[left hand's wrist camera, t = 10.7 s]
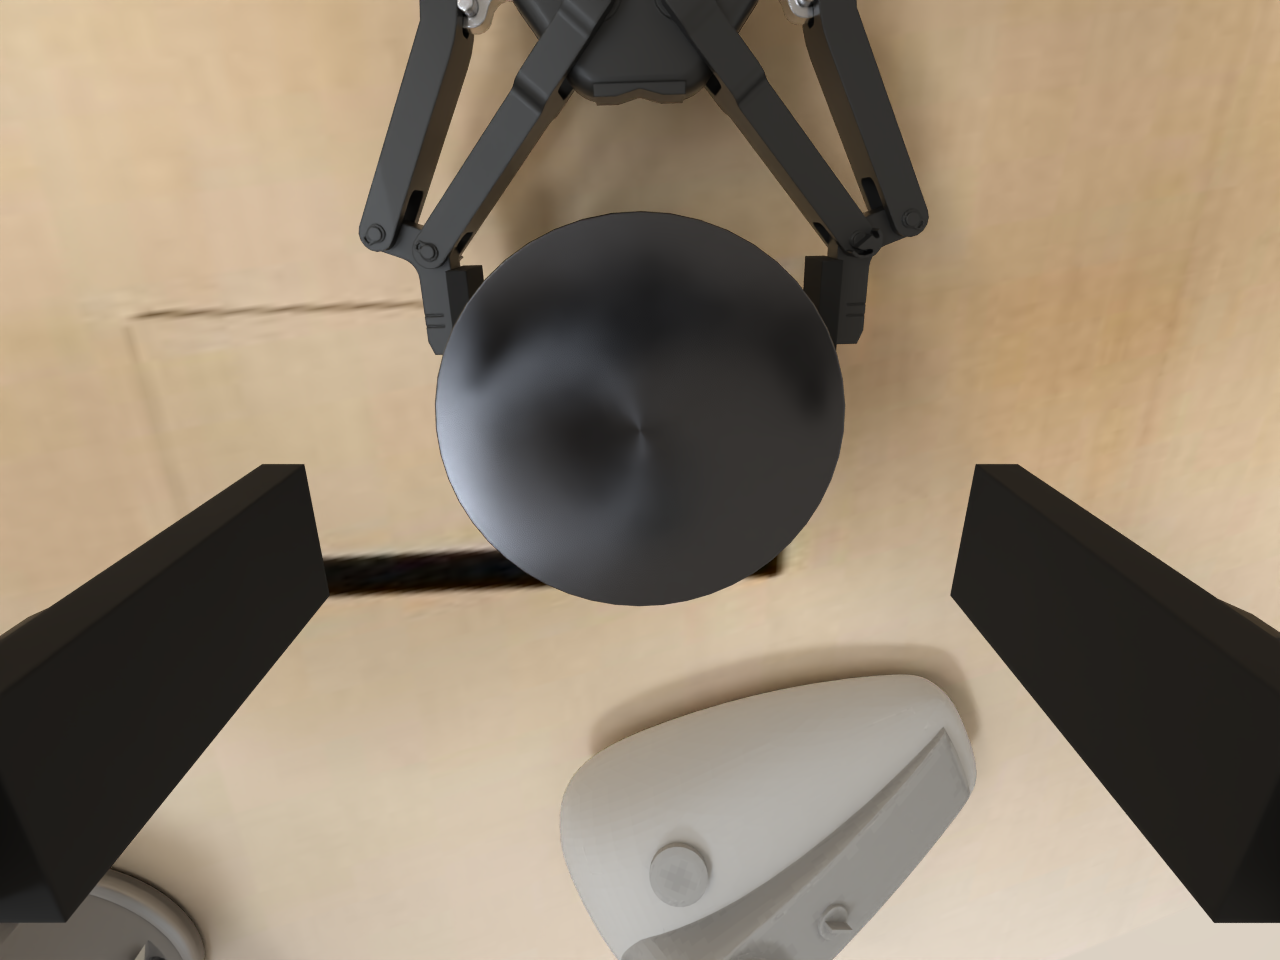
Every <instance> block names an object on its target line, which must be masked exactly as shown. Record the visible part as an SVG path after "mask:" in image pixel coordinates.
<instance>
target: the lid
mask: <svg viewBox="0 0 1280 960" xmlns="http://www.w3.org/2000/svg"><path fill="white" fill-rule="evenodd" d="M435 415H436V432H437V437H438V443H439V448H440V454H441V457H442V460H443V464H444V467H445V470H446V473H447V476H448V479H449V481H450V483H451V485H452V488H453V490H454V492H455V494H456V496H457V498H458V500H459V502H460V504H461V505H462V507H463V508H464V510H465V512H466V513H467V515H468V516H469V518H470V519H471V521H472V522H473V524H474V525H475V526H476V527H477V528H478V530H479V531H480V532H481V533H482V535H483V536H484V537H485V538H486V539H487V541H488V542H489V543H491V544H492V545H493V546H494V547H495V548H496V549H497V550H498V551H499V552H500V553H501V554H502V555H503V556H504V557H505V558H507V559H508V560H509V561H511V562H512V563H513V564H515V565H516V566H517V567H519V568H520V569H522V570H523V571H524V572H526V573H527V574H529V575H531V576H533V577H534V578H536V579H538V580H540V581H541V582H543V583H545V584H547V585H549V586H552V587H554V588H556V589H559V590H561V591H563V592H566V593H568V594H571V595H575V596H578V597H581V598H585V599H588V600H592V601H597V602H603V603H609V604H614V605H629V606H650V605H665V604H671V603H677V602H683V601H688V600H692V599H695V598H699V597H702V596H706V595H709V594H712V593H714V592H717V591H719V590H721V589H724V588H726V587H729V586H731V585H733V584H735V583H737V582H738V581H740V580H742V579H744V578H746V577H747V576H749V575H751V574H753V573H754V572H756V571H757V570H758V569H760V568H761V567H763V566H764V565H765V564H767V563H768V562H769V561H771V560H772V559H773V558H775V557H776V556H777V555H778V554H779V553H780V552H781V551H782V550H783V549H784V548H785V547H786V546H787V545H789V544H790V543H791V542H792V540H793V539H794V538H795V537H796V536H797V534H798V533H799V532H800V531H801V530H802V529H803V527H804V526H805V525H806V524H807V522H808V521H809V519H810V518H811V516H812V515H813V513H814V512H815V510H816V509H817V507H818V505H819V504H820V502H821V500H822V498H823V496H824V494H825V492H826V490H827V488H828V486H829V483H830V481H831V479H832V476H833V473H834V470H835V467H836V464H837V461H838V458H839V454H840V448H841V443H842V438H843V432H844V416H845V399H844V387H843V378H842V374H841V369H840V365H839V360H838V356H837V352H836V350H835V347H834V345H833V342H832V339H831V337H830V334H829V331H828V329H827V327H826V325H825V323H824V321H823V320H822V318H821V316H820V314H819V312H818V310H817V309H816V307H815V305H814V303H813V302H812V301H811V299H810V298H809V297H808V296H807V294H806V293H805V292H804V290H803V289H802V288H801V286H800V285H799V284H798V282H797V281H796V280H795V279H794V278H793V277H792V276H791V275H790V274H789V273H788V272H787V271H786V270H785V269H784V268H783V267H782V266H781V265H780V264H779V263H778V262H777V261H775V260H774V259H773V258H771V257H770V256H769V255H767V254H766V253H765V252H763V251H762V250H761V249H759V248H758V247H757V246H755V245H754V244H752V243H750V242H748V241H747V240H745V239H743V238H741V237H739V236H737V235H736V234H734V233H732V232H730V231H728V230H726V229H723V228H720V227H718V226H715V225H712V224H710V223H707V222H704V221H702V220H698V219H694V218H689V217H685V216H680V215H676V214H671V213H659V212H646V211H635V212H620V213H610V214H605V215H600V216H595V217H591V218H586V219H581V220H579V221H576V222H573V223H570V224H568V225H565V226H562V227H559V228H557V229H554V230H552V231H550V232H548V233H546V234H545V235H543V236H541V237H539V238H537V239H535V240H533V241H531V242H529V243H528V244H526V245H525V246H524V247H522V248H521V249H520V250H518V251H517V252H515V253H514V254H513V255H511V256H510V257H509V258H507V259H506V260H505V261H503V262H502V263H501V264H500V265H499V266H498V267H497V268H496V269H495V270H494V271H493V272H492V273H491V274H490V275H489V276H488V277H487V278H486V279H485V280H484V281H483V283H482V284H481V285H480V286H479V288H478V289H477V290H476V292H475V293H474V294H473V295H472V297H471V298H470V299H469V301H468V302H467V304H466V305H465V307H464V309H463V311H462V312H461V314H460V316H459V318H458V319H457V321H456V323H455V325H454V327H453V329H452V332H451V334H450V337H449V339H448V342H447V344H446V347H445V350H444V352H443V357H442V361H441V365H440V369H439V373H438V378H437V388H436V399H435Z"/></svg>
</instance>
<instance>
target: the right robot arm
mask: <svg viewBox="0 0 1280 960" xmlns="http://www.w3.org/2000/svg"><path fill="white" fill-rule="evenodd" d="M508 1H513V2H514V4H515V6H516V7H517V9H518V11H519V12H520V14H521V15H522V17H523V18H524V19H525V21H526V22H527V24H528V25H529V27H530V28H531V29H532V31H533V32H534V34H535V35H536V37H537V38H538V39H539V40H538V42H537V44H536V45H535V47H534V48H533V50H532V51H531V53H530V54H529V56H528V58H527V59H526V61H525V62H524V64H523V65H522V67H521V69H520V70H519V72H518V74H517V76H516V78H515V80H514V84H513V87H512V89H511V91H510V92H509V94H508V96H507V97H506V99H505V100H504V102H503V103H502V105H501V106H500V108H499V110H498V111H497V113H496V114H495V116H494V117H493V119H492V120H491V122H490V124H489V125H488V127H487V128H486V130H485V131H484V133H483V134H482V136H481V138H480V139H479V141H478V142H477V144H476V145H475V147H474V148H473V150H472V152H471V153H470V155H469V156H468V158H467V159H466V161H465V162H464V164H463V166H462V167H461V169H460V170H459V172H458V173H457V175H456V176H455V178H454V180H453V181H452V183H451V184H450V186H449V187H448V189H447V190H446V192H445V194H444V195H443V197H442V198H441V200H440V201H439V203H438V204H437V206H436V208H435V209H434V211H433V212H432V214H431V215H430V217H429V218H428V220H427V222H426V223H425V225H424V226H423V225H420V224H418V221H419V218H420V215H421V212H422V209H423V206H424V203H425V199H426V196H427V193H428V190H429V187H430V184H431V181H432V178H433V175H434V172H435V169H436V166H437V162H438V159H439V156H440V153H441V150H442V147H443V144H444V141H445V138H446V135H447V132H448V128H449V125H450V122H451V119H452V116H453V113H454V110H455V107H456V104H457V101H458V98H459V95H460V91H461V88H462V85H463V82H464V79H465V76H466V73H467V70H468V66H469V62H470V59H471V55H472V48H473V42H474V34H475V35H476V34H482V33H484V32H486V31H487V30H488V29H489V27H490V26H491V24H492V20H493V16H494V12H495V11H496V9H497V7H498V6H499V5H501V4H502V3H504V2H508ZM779 1H780V3H781V5H782V8H783V12H784V15H785V17H786V18H787V20H788V21H790V22H791V23H793V24H795V25H803V33H804V37H805V42H806V47H807V50H808V53H809V56H810V59H811V62H812V64H813V67H814V70H815V72H816V75H817V77H818V80H819V83H820V85H821V88H822V91H823V93H824V96H825V99H826V101H827V104H828V106H829V109H830V112H831V114H832V117H833V120H834V122H835V125H836V128H837V130H838V133H839V135H840V138H841V141H842V143H843V146H844V149H845V151H846V154H847V156H848V159H849V162H850V164H851V167H852V170H853V172H854V175H855V178H856V180H857V183H858V185H859V188H860V191H861V193H862V196H863V199H864V201H865V204H866V207H867V209H868V211H867V212H865V213H862V212H861V210H860V209H859V208H858V206H857V205H856V203H855V202H854V201H853V199H852V198H851V196H850V195H849V194H848V192H847V191H846V190H845V188H844V187H843V185H842V184H841V183H840V181H839V180H838V178H837V177H836V176H835V174H834V173H833V171H832V170H831V169H830V167H829V166H828V164H827V163H826V162H825V160H824V159H823V158H822V156H821V155H820V153H819V152H818V151H817V149H816V148H815V146H814V145H813V144H812V142H811V141H810V139H809V138H808V137H807V135H806V134H805V133H804V131H803V130H802V128H801V127H800V126H799V124H798V123H797V121H796V120H795V119H794V117H793V116H792V114H791V113H790V112H789V110H788V109H787V107H786V106H785V105H784V103H783V102H782V101H781V99H780V98H779V96H778V95H777V94H776V92H775V91H774V89H773V88H772V87H771V85H770V84H769V82H768V81H767V79H766V76H765V72H764V70H763V68H762V67H761V65H760V64H759V62H758V61H757V59H756V58H755V56H754V55H753V54H752V52H751V51H750V49H749V48H748V47H747V45H746V44H745V43H744V41H743V40H742V38H741V37H740V36H739V34H738V33H739V31H740V30H741V28H742V27H743V25H744V23H745V22H746V20H747V19H748V17H749V15H750V14H751V12H752V11H753V9H754V7H755V6H756V4H757V2H758V0H420V22H419V26H418V29H417V33H416V36H415V39H414V43H413V46H412V49H411V53H410V56H409V60H408V63H407V66H406V70H405V73H404V77H403V80H402V83H401V87H400V90H399V94H398V97H397V100H396V104H395V107H394V111H393V114H392V117H391V121H390V124H389V127H388V131H387V134H386V138H385V141H384V144H383V148H382V151H381V155H380V158H379V161H378V165H377V168H376V172H375V175H374V178H373V182H372V185H371V189H370V192H369V195H368V199H367V202H366V205H365V209H364V212H363V216H362V219H361V222H360V226H359V236H360V239H361V241H362V243H363V244H364V245H365V246H366V247H367V248H368V249H370V250H372V251H376V252H379V251H382V252H385V253H388V254H391V255H394V256H397V257H400V258H403V259H405V260H407V261H408V262H410V263H411V264H412V265H413V266H414V267H415V268H416V270H417V272H418V274H419V278H420V284H421V291H422V299H423V306H424V313H425V320H426V325H427V334H428V341H429V344H430V345H431V347H432V349H433V351H434V353H435V355H443V352H444V350H445V347H446V344H447V342H448V339H449V337H450V334H451V332H452V329H453V327H454V325H455V323H456V321H457V319H458V318H459V316H460V314H461V312H462V311H463V309H464V307H465V305H466V304H467V302H468V301H469V299H470V298H471V297H472V295H473V294H474V293H475V292H476V290H477V289H478V288H479V286H480V285H481V284H482V283H483V281H484V279H483V269H482V265H469V266H461V267H460V260H461V259H462V258H463V256H461V255H462V253H463V252H464V250H465V249H466V247H467V246H468V244H469V243H470V241H471V240H472V238H473V237H474V235H475V234H476V232H477V231H478V229H479V228H480V226H481V225H482V223H483V222H484V220H485V219H486V217H487V216H488V214H489V213H490V211H491V210H492V208H493V207H494V205H495V204H496V203H497V201H498V200H499V198H500V197H501V195H502V194H503V192H504V191H505V189H506V188H507V186H508V185H509V183H510V182H511V180H512V179H513V177H514V176H515V174H516V173H517V171H518V170H519V168H520V167H521V165H522V164H523V162H524V161H525V159H526V158H527V156H528V155H529V153H530V152H531V150H532V149H533V147H534V146H535V144H536V143H537V141H538V140H539V138H540V137H541V136H542V134H543V133H544V131H545V130H546V128H547V127H548V125H549V124H550V122H551V121H552V120H553V119H554V118H556V116H557V115H558V114H559V113H560V111H561V110H562V108H563V107H564V105H565V104H566V102H567V101H568V99H569V98H570V96H571V95H572V93H573V92H574V90H575V91H576V92H577V93H579V94H580V95H581V96H583V97H584V98H586V99H588V100H590V101H593V102H596V104H597V105H619V104H622V103H625V102H628V101H631V100H634V99H637V98H643V99H647V100H650V101H654V102H658V103H661V104H662V103H682V102H683V100H684V99H687V98H689V97H691V96H693V95H695V94H696V93H697V92H699V91H700V90H701V89H702V88H703V87H705V88H706V90H707V91H708V92H709V94H710V95H711V96H712V98H713V99H714V100H715V102H716V103H717V104H718V106H719V107H720V108H721V109H722V110H723V111H724V112H725V113H726V114H727V115H728V116H729V117H730V118H731V119H732V120H733V122H734V123H735V124H736V126H737V127H738V128H739V130H740V131H741V132H742V134H743V135H744V136H745V138H746V139H747V140H748V142H749V143H750V144H751V146H752V147H753V148H754V150H755V151H756V152H757V154H758V155H759V156H760V158H761V159H762V160H763V162H764V163H765V164H766V166H767V167H768V168H769V170H770V171H771V172H772V174H773V175H774V176H775V178H776V179H777V180H778V182H779V183H780V184H781V186H782V187H783V188H784V190H785V191H786V192H787V194H788V195H789V196H790V198H791V199H792V200H793V202H794V203H795V204H796V206H797V207H798V208H799V210H800V211H801V212H802V214H803V215H804V216H805V218H806V219H807V220H808V222H809V223H810V224H811V226H812V227H813V228H814V230H815V231H816V232H817V234H818V235H819V236H820V238H821V239H822V240H823V242H824V243H825V244H826V246H827V247H828V255H827V256H805V272H804V288H803V290H804V292H805V293H806V294H807V296H808V297H809V298H810V299H811V301H812V302H813V303H814V305H815V307H816V309H817V310H818V312H819V314H820V316H821V318H822V320H823V321H824V323H825V325H826V327H827V329H828V331H829V334H830V337H831V339H832V342H833V345H834V347H835V350H836V346H837V344H857V342H858V340H859V338H860V335H861V333H862V331H863V325H864V314H865V303H866V293H867V282H868V272H869V264H870V261H871V258H872V256H874V255H875V254H876V253H877V252H878V251H879V250H880V248H881V247H883V246H885V245H887V244H890V243H892V242H895V241H897V240H900V239H902V238H905V237H912V236H915V235H918V234H919V233H920V232H922V231H923V230H924V228H925V227H926V225H927V222H928V218H929V216H928V210H927V207H926V204H925V201H924V198H923V196H922V193H921V190H920V187H919V184H918V181H917V178H916V175H915V173H914V170H913V167H912V164H911V161H910V158H909V155H908V153H907V150H906V147H905V144H904V141H903V138H902V135H901V133H900V130H899V127H898V124H897V121H896V118H895V115H894V113H893V110H892V107H891V104H890V101H889V98H888V95H887V93H886V90H885V87H884V84H883V81H882V78H881V75H880V73H879V70H878V67H877V64H876V61H875V58H874V55H873V53H872V50H871V47H870V44H869V41H868V38H867V35H866V33H865V30H864V27H863V24H862V21H861V18H860V15H859V13H858V10H857V2H856V0H779Z"/></svg>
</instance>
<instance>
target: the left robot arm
mask: <svg viewBox="0 0 1280 960" xmlns="http://www.w3.org/2000/svg"><path fill="white" fill-rule="evenodd" d="M329 596H330V594H329V589H328V584H327V579H326V574H325V569H324V563H323V558H322V553H321V548H320V543H319V538H318V533H317V527H316V522H315V517H314V512H313V507H312V502H311V496H310V491H309V486H308V481H307V476H306V471H305V466H304V464H262V465H260V466H259V467H257V468H256V469H254V470H253V471H251V472H250V473H249V474H247V475H246V476H244V477H243V478H241V479H240V480H238V481H237V482H235V483H234V484H232V485H231V486H229V487H228V488H226V489H225V490H223V491H222V492H220V493H219V494H217V495H216V496H214V497H213V498H211V499H210V500H208V501H207V502H205V503H204V504H202V505H201V506H199V507H198V508H196V509H195V510H194V511H192V512H191V513H189V514H188V515H186V516H185V517H183V518H182V519H180V520H179V521H177V522H176V523H174V524H173V525H171V526H170V527H168V528H167V529H165V530H164V531H162V532H161V533H159V534H158V535H156V536H155V537H153V538H152V539H150V540H149V541H147V542H146V543H144V544H143V545H142V546H140V547H139V548H137V549H136V550H134V551H133V552H131V553H130V554H128V555H127V556H125V557H124V558H122V559H121V560H119V561H118V562H116V563H115V564H113V565H112V566H110V567H109V568H107V569H106V570H104V571H103V572H101V573H100V574H98V575H97V576H95V577H94V578H92V579H91V580H89V581H88V582H87V583H85V584H84V585H82V586H81V587H79V588H78V589H76V590H75V591H73V592H72V593H70V594H69V595H67V596H66V597H64V598H63V599H61V600H60V601H58V602H57V603H55V604H54V605H52V606H51V607H49V608H47V609H45V610H43V611H41V612H39V613H36V614H34V615H32V616H30V617H28V618H26V619H25V620H23V621H22V622H20V623H19V624H17V625H16V626H14V627H13V628H11V629H10V630H8V631H7V632H5V633H4V634H2V635H1V636H0V960H205V952H204V946H203V942H202V939H201V936H200V934H199V932H198V930H197V928H196V927H195V925H194V924H193V922H192V921H191V919H190V918H189V917H188V916H187V914H186V913H185V912H184V911H183V910H182V909H181V908H180V907H179V906H178V905H177V904H176V903H174V902H173V901H172V900H171V899H170V898H168V897H167V896H166V895H164V894H163V893H161V892H160V891H158V890H157V889H155V888H153V887H152V886H150V885H148V884H146V883H144V882H142V881H140V880H138V879H136V878H134V877H131V876H129V875H126V874H124V873H121V872H118V871H115V870H111V869H110V867H111V866H112V865H113V864H114V862H115V861H116V860H117V859H118V857H119V856H120V855H121V854H122V852H123V851H124V850H125V849H126V847H127V846H128V845H129V844H130V843H131V841H132V840H133V839H134V838H135V836H136V835H137V834H138V833H139V831H140V830H141V829H142V828H143V826H144V825H145V824H146V823H147V821H148V820H149V819H150V818H151V816H152V815H153V814H154V813H155V812H156V810H157V809H158V808H159V807H160V805H161V804H162V803H163V802H164V800H165V799H166V798H167V797H168V795H169V794H170V793H171V792H172V790H173V789H174V788H175V787H176V785H177V784H178V783H179V782H180V780H181V779H182V778H183V777H184V776H185V774H186V773H187V772H188V771H189V769H190V768H191V767H192V766H193V764H194V763H195V762H196V761H197V759H198V758H199V757H200V756H201V754H202V753H203V752H204V751H205V749H206V748H207V747H208V746H209V744H210V743H211V742H212V741H213V740H214V738H215V737H216V736H217V735H218V733H219V732H220V731H221V730H222V728H223V727H224V726H225V725H226V723H227V722H228V721H229V720H230V718H231V717H232V716H233V715H234V713H235V712H236V711H237V710H238V708H239V707H240V706H241V705H242V704H243V702H244V701H245V700H246V699H247V697H248V696H249V695H250V694H251V692H252V691H253V690H254V689H255V687H256V686H257V685H258V684H259V682H260V681H261V680H262V679H263V677H264V676H265V675H266V674H267V672H268V671H269V670H270V669H271V668H272V666H273V665H274V664H275V663H276V661H277V660H278V659H279V658H280V656H281V655H282V654H283V653H284V651H285V650H286V649H287V648H288V646H289V645H290V644H291V643H292V641H293V640H294V639H295V638H296V636H297V635H298V634H299V633H300V632H301V630H302V629H303V628H304V627H305V625H306V624H307V623H308V622H309V620H310V619H311V618H312V617H313V615H314V614H315V613H316V612H317V610H318V609H319V608H320V607H321V605H322V604H323V603H324V602H325V600H326V599H327V598H328V597H329ZM950 596H951V597H952V598H953V599H954V600H955V602H956V603H957V604H958V605H959V607H960V608H961V609H962V610H963V612H964V613H965V614H966V615H967V617H968V618H969V619H970V620H971V622H972V623H973V624H974V625H975V627H976V628H977V629H978V630H979V632H980V633H981V634H982V635H983V636H984V638H985V639H986V640H987V641H988V643H989V644H990V645H991V646H992V648H993V649H994V650H995V651H996V653H997V654H998V655H999V656H1000V658H1001V659H1002V660H1003V661H1004V663H1005V664H1006V665H1007V666H1008V668H1009V669H1010V670H1011V671H1012V672H1013V674H1014V675H1015V676H1016V677H1017V679H1018V680H1019V681H1020V682H1021V684H1022V685H1023V686H1024V687H1025V689H1026V690H1027V691H1028V692H1029V694H1030V695H1031V696H1032V697H1033V699H1034V700H1035V701H1036V702H1037V704H1038V705H1039V706H1040V707H1041V708H1042V710H1043V711H1044V712H1045V713H1046V715H1047V716H1048V717H1049V718H1050V720H1051V721H1052V722H1053V723H1054V725H1055V726H1056V727H1057V728H1058V730H1059V731H1060V732H1061V733H1062V735H1063V736H1064V737H1065V738H1066V740H1067V741H1068V742H1069V743H1070V744H1071V746H1072V747H1073V748H1074V749H1075V751H1076V752H1077V753H1078V754H1079V756H1080V757H1081V758H1082V759H1083V761H1084V762H1085V763H1086V764H1087V766H1088V767H1089V768H1090V769H1091V771H1092V772H1093V773H1094V774H1095V776H1096V777H1097V778H1098V779H1099V780H1100V782H1101V783H1102V784H1103V785H1104V787H1105V788H1106V789H1107V790H1108V792H1109V793H1110V794H1111V795H1112V797H1113V798H1114V799H1115V800H1116V802H1117V803H1118V804H1119V805H1120V807H1121V808H1122V809H1123V810H1124V812H1125V813H1126V814H1127V815H1128V816H1129V818H1130V819H1131V820H1132V821H1133V823H1134V824H1135V825H1136V826H1137V828H1138V829H1139V830H1140V831H1141V833H1142V834H1143V835H1144V836H1145V838H1146V839H1147V840H1148V841H1149V843H1150V844H1151V845H1152V846H1153V848H1154V849H1155V850H1156V851H1157V852H1158V854H1159V855H1160V856H1161V857H1162V859H1163V860H1164V861H1165V862H1166V864H1167V865H1168V866H1169V867H1170V869H1171V870H1172V871H1173V872H1174V874H1175V875H1176V876H1177V877H1178V879H1179V880H1180V881H1181V882H1182V883H1183V885H1184V886H1185V887H1186V888H1187V890H1188V891H1189V892H1190V893H1191V895H1192V896H1193V897H1194V898H1195V900H1196V901H1197V902H1198V903H1199V905H1200V906H1201V907H1202V908H1203V910H1204V911H1205V912H1206V913H1207V915H1208V916H1209V917H1210V918H1211V919H1212V921H1213V922H1214V923H1280V632H1278V631H1277V630H1275V629H1274V628H1272V627H1271V626H1269V625H1268V624H1266V623H1265V622H1263V621H1262V620H1260V619H1259V618H1257V617H1256V616H1254V615H1253V614H1251V613H1248V612H1246V611H1244V610H1242V609H1239V608H1237V607H1235V606H1233V605H1230V604H1228V603H1226V602H1224V601H1221V600H1219V599H1217V598H1216V597H1214V596H1213V595H1211V594H1210V593H1208V592H1207V591H1205V590H1204V589H1202V588H1201V587H1199V586H1198V585H1196V584H1195V583H1193V582H1192V581H1191V580H1189V579H1188V578H1186V577H1185V576H1183V575H1182V574H1180V573H1179V572H1177V571H1176V570H1174V569H1173V568H1171V567H1170V566H1168V565H1167V564H1165V563H1164V562H1162V561H1161V560H1159V559H1158V558H1156V557H1155V556H1153V555H1152V554H1150V553H1149V552H1147V551H1146V550H1144V549H1143V548H1141V547H1140V546H1138V545H1137V544H1136V543H1134V542H1133V541H1131V540H1130V539H1128V538H1127V537H1125V536H1124V535H1122V534H1121V533H1119V532H1118V531H1116V530H1115V529H1113V528H1112V527H1110V526H1109V525H1107V524H1106V523H1104V522H1103V521H1101V520H1100V519H1098V518H1097V517H1095V516H1094V515H1092V514H1091V513H1089V512H1088V511H1086V510H1085V509H1084V508H1082V507H1081V506H1079V505H1078V504H1076V503H1075V502H1073V501H1072V500H1070V499H1069V498H1067V497H1066V496H1064V495H1063V494H1061V493H1060V492H1058V491H1057V490H1055V489H1054V488H1052V487H1051V486H1049V485H1048V484H1046V483H1045V482H1043V481H1042V480H1040V479H1039V478H1037V477H1036V476H1034V475H1033V474H1031V473H1030V472H1029V471H1027V470H1026V469H1024V468H1023V467H1021V466H1020V465H1018V464H976V466H975V471H974V476H973V481H972V486H971V491H970V496H969V502H968V507H967V512H966V517H965V522H964V527H963V533H962V538H961V543H960V548H959V553H958V558H957V563H956V569H955V574H954V579H953V584H952V589H951V594H950Z"/></svg>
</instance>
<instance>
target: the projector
mask: <svg viewBox="0 0 1280 960" xmlns="http://www.w3.org/2000/svg"><path fill="white" fill-rule="evenodd" d="M975 782H976V763H975V758H974V754H973V750H972V747H971V743H970V740H969V738H968V735H967V732H966V729H965V727H964V724H963V722H962V720H961V717H960V715H959V713H958V711H957V709H956V707H955V706H954V704H953V702H952V701H951V700H950V698H949V697H948V696H947V695H946V693H945V692H944V691H943V690H942V689H941V688H939V687H938V686H937V685H936V684H934V683H933V682H931V681H930V680H928V679H926V678H923V677H920V676H915V675H898V674H897V675H879V676H868V677H858V678H848V679H841V680H834V681H827V682H820V683H814V684H808V685H802V686H797V687H791V688H786V689H781V690H776V691H772V692H767V693H763V694H758V695H754V696H750V697H746V698H742V699H738V700H735V701H731V702H727V703H723V704H720V705H717V706H713V707H710V708H707V709H703V710H700V711H697V712H693V713H690V714H687V715H684V716H681V717H679V718H676V719H673V720H670V721H667V722H664V723H661V724H659V725H656V726H653V727H651V728H648V729H645V730H643V731H641V732H638V733H636V734H634V735H631V736H629V737H626V738H624V739H622V740H620V741H618V742H616V743H614V744H612V745H610V746H609V747H607V748H605V749H604V750H602V751H600V752H599V753H597V754H596V755H594V756H593V757H592V758H590V759H589V760H588V761H587V762H585V763H584V764H583V765H582V766H581V767H580V768H579V770H578V771H577V772H576V773H575V774H574V776H573V777H572V779H571V780H570V782H569V784H568V786H567V788H566V790H565V793H564V795H563V799H562V804H561V811H560V837H561V845H562V850H563V855H564V858H565V861H566V865H567V867H568V870H569V873H570V875H571V878H572V880H573V882H574V885H575V887H576V889H577V891H578V893H579V896H580V898H581V900H582V902H583V904H584V906H585V908H586V910H587V912H588V914H589V915H590V917H591V919H592V921H593V923H594V924H595V926H596V928H597V930H598V932H599V933H600V935H601V936H602V938H603V939H604V941H605V942H606V944H607V945H608V947H609V948H610V950H611V951H612V953H613V954H614V955H615V957H616V958H617V959H618V960H833V959H834V958H835V957H836V956H837V954H838V953H839V952H840V951H841V950H842V949H843V948H844V947H845V946H846V945H847V944H848V943H849V942H850V941H851V940H852V939H853V937H854V936H855V935H856V934H857V933H858V932H859V931H860V930H861V929H862V928H863V927H864V926H865V925H866V924H867V922H868V921H869V920H870V919H871V918H872V917H873V916H874V915H875V914H876V913H877V911H878V910H879V909H880V908H881V907H882V906H883V905H884V903H885V902H886V901H887V900H888V899H889V898H890V897H891V895H892V894H893V893H894V892H895V891H896V890H897V889H898V888H899V886H900V885H901V884H902V883H903V882H904V880H905V879H906V878H907V877H908V876H909V874H910V873H911V872H912V871H913V870H914V868H915V867H916V866H917V865H918V864H919V863H920V861H921V860H922V859H923V858H924V857H925V855H926V854H927V853H928V852H929V850H930V849H931V848H932V847H933V845H934V844H935V843H936V842H937V840H938V839H939V838H940V837H941V835H942V834H943V833H944V831H945V830H946V829H947V827H948V826H949V825H950V824H951V822H952V821H953V820H954V818H955V817H956V816H957V815H958V813H959V812H960V810H961V809H962V807H963V806H964V805H965V803H966V802H967V800H968V798H969V796H970V795H971V793H972V791H973V789H974V786H975Z"/></svg>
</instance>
